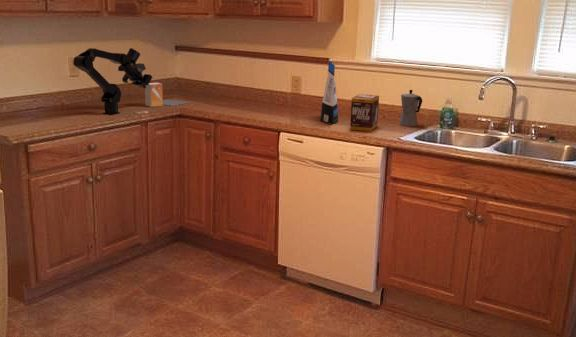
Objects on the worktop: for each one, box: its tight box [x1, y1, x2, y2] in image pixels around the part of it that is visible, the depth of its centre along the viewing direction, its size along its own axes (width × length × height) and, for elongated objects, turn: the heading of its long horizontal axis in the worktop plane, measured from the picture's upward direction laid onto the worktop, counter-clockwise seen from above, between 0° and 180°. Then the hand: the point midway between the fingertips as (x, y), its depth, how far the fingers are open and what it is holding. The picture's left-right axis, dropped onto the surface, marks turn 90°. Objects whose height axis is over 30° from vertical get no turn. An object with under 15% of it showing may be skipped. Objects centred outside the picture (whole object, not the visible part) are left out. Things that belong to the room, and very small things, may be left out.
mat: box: [163, 98, 190, 107], centre depth 360 cm, size 16×18×1 cm
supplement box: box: [349, 93, 380, 132], centre depth 296 cm, size 10×15×16 cm
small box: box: [144, 82, 164, 108], centre depth 347 cm, size 8×6×13 cm
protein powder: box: [320, 60, 339, 125], centre depth 311 cm, size 10×24×30 cm, turn 3°
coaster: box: [134, 110, 148, 115], centre depth 326 cm, size 7×7×1 cm
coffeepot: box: [398, 89, 423, 127], centre depth 304 cm, size 15×9×18 cm, turn 28°
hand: (145, 87), depth 341 cm, fingers closed
